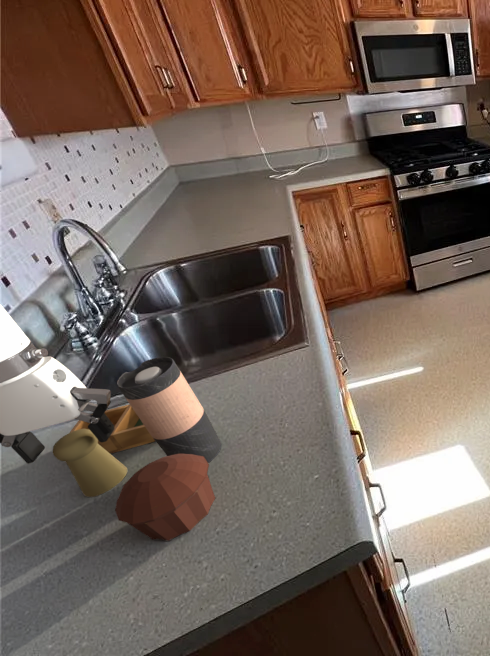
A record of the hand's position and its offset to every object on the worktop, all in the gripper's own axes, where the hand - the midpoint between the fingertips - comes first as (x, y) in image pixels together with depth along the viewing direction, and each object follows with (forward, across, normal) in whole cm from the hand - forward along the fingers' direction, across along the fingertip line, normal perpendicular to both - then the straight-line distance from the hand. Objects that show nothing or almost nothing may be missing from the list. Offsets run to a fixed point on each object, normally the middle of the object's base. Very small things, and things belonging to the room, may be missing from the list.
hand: (73, 445), depth 68 cm
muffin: (+10, -15, +12) cm, 22 cm away
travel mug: (+10, -14, 0) cm, 18 cm away
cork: (+10, 0, 0) cm, 10 cm away
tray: (+10, +1, -12) cm, 15 cm away
